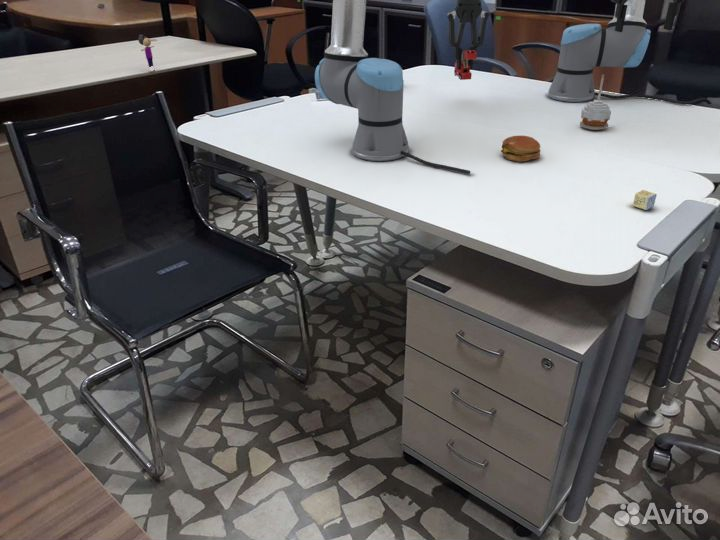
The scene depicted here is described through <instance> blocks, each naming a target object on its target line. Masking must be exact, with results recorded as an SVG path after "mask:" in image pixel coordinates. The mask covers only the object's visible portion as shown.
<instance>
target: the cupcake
mask: <svg viewBox="0 0 720 540" xmlns="http://www.w3.org/2000/svg"><path fill="white" fill-rule="evenodd" d="M604 80H605V74H601V79H600V85H599V89H598V93H599V94H598V96H597V99H593V101H588V103H586V104H585V105H584V107H583V108H582V109H581V112H580V113H581V114H580V119H582V120H581V121H579V126H580V127H582V128H584V129H587V130H590V131H591V130H592V131H599V130H605V129H607V128H609V122H608V121H610V120H611V115H612V110H611V108H610V106H609V104H608V103H607V102H606V101H603V100H602V99H601V97H602V96H601V93H602V90H603V86H604Z"/></svg>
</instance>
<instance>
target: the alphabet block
mask: <svg viewBox="0 0 720 540" xmlns="http://www.w3.org/2000/svg"><path fill="white" fill-rule="evenodd" d="M657 195H658V194H657V193H655V192H651V191H648V190H645V189H642V190H640V191H637V192H636V193H635V194H634V198H633V203H632V206H633V207H635V208H638V209H640V210H641V209H642V210H644V211H648V210H650V209H652V208H654V207H655V203H656V199H657Z"/></svg>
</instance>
